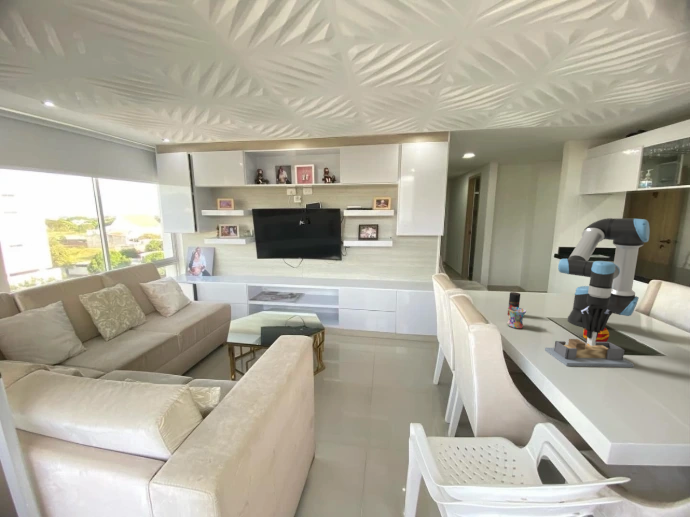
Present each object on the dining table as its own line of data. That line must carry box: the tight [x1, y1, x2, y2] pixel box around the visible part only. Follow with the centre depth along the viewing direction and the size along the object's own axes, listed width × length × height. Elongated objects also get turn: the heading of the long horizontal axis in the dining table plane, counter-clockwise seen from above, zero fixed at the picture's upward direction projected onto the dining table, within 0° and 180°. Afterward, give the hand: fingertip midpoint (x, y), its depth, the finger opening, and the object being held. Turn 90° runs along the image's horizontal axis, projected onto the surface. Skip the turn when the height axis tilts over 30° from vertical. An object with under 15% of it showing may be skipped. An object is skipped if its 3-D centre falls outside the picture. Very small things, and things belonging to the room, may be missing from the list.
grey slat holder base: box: [544, 340, 634, 368], centre depth 129 cm, size 29×14×6 cm, turn 89°
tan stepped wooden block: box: [564, 338, 608, 358], centre depth 129 cm, size 18×4×7 cm, turn 89°
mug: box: [506, 307, 527, 329], centre depth 165 cm, size 12×9×11 cm
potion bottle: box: [582, 327, 610, 345], centre depth 141 cm, size 10×10×15 cm
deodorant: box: [507, 291, 521, 316], centre depth 182 cm, size 6×6×15 cm
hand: (590, 344), depth 129 cm, fingers closed
